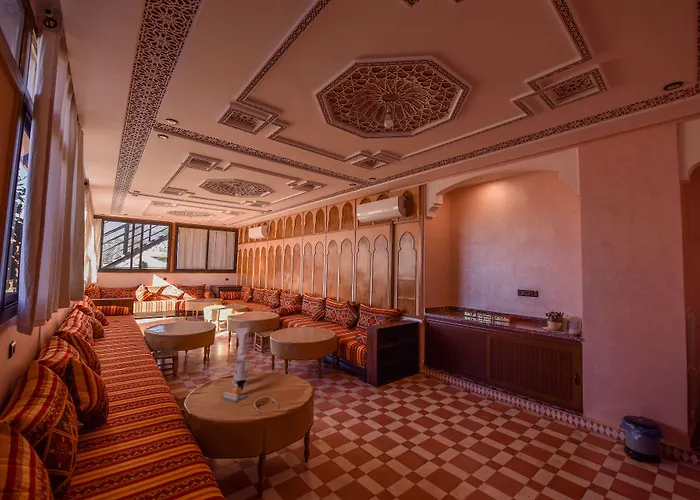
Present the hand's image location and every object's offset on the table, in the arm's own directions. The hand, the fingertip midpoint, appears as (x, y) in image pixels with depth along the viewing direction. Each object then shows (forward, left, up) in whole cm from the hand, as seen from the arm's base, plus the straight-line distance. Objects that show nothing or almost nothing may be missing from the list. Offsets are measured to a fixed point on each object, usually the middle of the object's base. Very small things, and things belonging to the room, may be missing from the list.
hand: (240, 390), depth 232 cm
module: (0, -4, -2) cm, 4 cm away
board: (0, -6, -3) cm, 7 cm away
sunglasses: (+30, -8, -3) cm, 31 cm away
